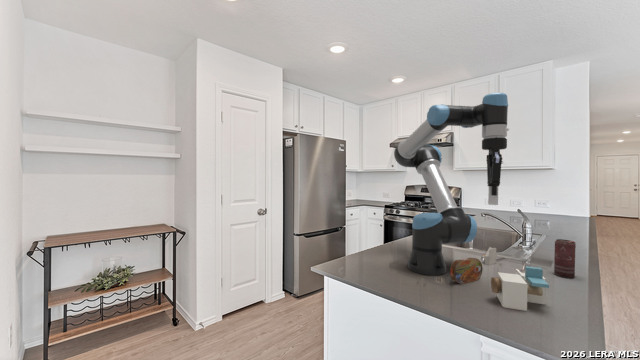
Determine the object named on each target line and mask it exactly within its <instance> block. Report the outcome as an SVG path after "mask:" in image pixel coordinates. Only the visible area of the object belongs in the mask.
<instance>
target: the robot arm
mask: <svg viewBox="0 0 640 360" xmlns="http://www.w3.org/2000/svg"><path fill="white" fill-rule="evenodd" d="M508 103H509V102H508V95H507V94H506V93H504V92H492V93H488V94H486V95H484V96H483V97H482V102H481V104H478V105H474V106H473V105H472V106H470V105H467V106H466V105H454V104H453V105H451V104H450V105H449V104H433V105H432V106H430V107H429V109H428V111H427V113H426V119H425V120H424V121H423V122H422V123H421V125H419V126H418V127H417V128H416V129H415V130H414V131H413V132H412V133H411V135H409V136H408V137H407V138H406V139H405V140H402V141H400V142H399V143H398V144H397V146H396V147H395V149H394V154H393V157H394V160H395V161H396V163H397V164H398V165H400V166H401V167H404V168H415V170H416V172H417V173H418V174H419V175H422V178H423V181H424V183H425V186H426V188H427V190H428V192H429V195H430V198H431V199H432V202H433V204H434V206H435V209H436V211H437V212H423V213H418V214H415V215H414V216H413V218H412V224H411V225H412V226H411V228H412V230H411V231H412V235H411V236H412V241H411V242H412V244H411V245H412V247H411V252H410V254H409V257H408V260H407V268H408V269H409V270H410V271H411V272H414V273H416V274H420V275H428V276H439V275H440V276H441V275H444V274H445V273H446V272H447V265H446V261H445V258H444V255H443V250H442V249H443V245H449V244H450V245H453V244H465V243H471V242H472V241H473V240H474V239H475V238H476V236H477V232H478V225H477V222H476V219H475V218H474V216H472V215H469V214H466V213H465V211H464V209H463V208H462V207H460V206H458V205H457V203H456V201H455V199H454V196H453V195H452V192H451V191H450V188H449V186H448V184H447V182H446V179H445V177H444V175H443V174H442V172H441V169H440V167H441V163H442V158H443V157H442V152H441V151H440V149H439V147H437V146H435V145H431V144H427V143H429V142H430V141H431V140H433V139H434V138H435V137H436V136H437V135H439V134H440V133H441V132H442V131H443V130H445V129H446V128H447V127H448V126H452V127H453V126H454V127H455V126H456V127H458V126H459V127H462V128H464V129H467V128H474V127H479V126H481V138H482V140H481V149H482V150H483V151H488V154H487V155H486V165H487V166H486V172H487V187H488V195H487V196H488V205H490V206H491V205H494V206H497V205H499V186H500V185H501V175H502V174H501V171H502V162H503V157H502V156H503V155H502V154H501V151H500V150H506V149H507V147H508V139H507V138H506V137H507V136H508V132H509V130H510V128H509V127H508V111H509V104H508Z"/></svg>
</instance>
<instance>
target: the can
mask: <svg viewBox="0 0 640 360" xmlns="http://www.w3.org/2000/svg"><path fill="white" fill-rule="evenodd" d="M576 244H577V243H576V241H574V240H568V239H562V238H559V239H555V241H554V260H553V263H554V266H553V273H554V275H555V276H558V277H560V278H566V279H573V278H574V277H575V276H576V272H575V271H576V246H577V245H576Z"/></svg>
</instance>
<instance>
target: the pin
mask: <svg viewBox="0 0 640 360" xmlns="http://www.w3.org/2000/svg"><path fill="white" fill-rule="evenodd" d="M490 279H491V280H490V288H491V292H492V293H493V294H497V293H499V291H500V290H502V282H500V281H499V279H498V278H497V277H493V276H492V277H491V278H490ZM527 294H531V295H538V296H542V295H543V291H542V288H541V287H536V286H531V285H527Z"/></svg>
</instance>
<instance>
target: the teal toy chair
mask: <svg viewBox="0 0 640 360" xmlns="http://www.w3.org/2000/svg"><path fill="white" fill-rule="evenodd" d="M524 273H525V279H526V280H527V281H528V282H529V283H530V284H531V285H532V286H536V287H544V288H546V289H549V288H550V284H549V283H548V282H547V280H546V281H545V280H544V279H543V277H544V276H543V275H544V270H543V268H542V267H539V266H538V267H537V266H536V267H535V266H527V265H525V267H524Z"/></svg>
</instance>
